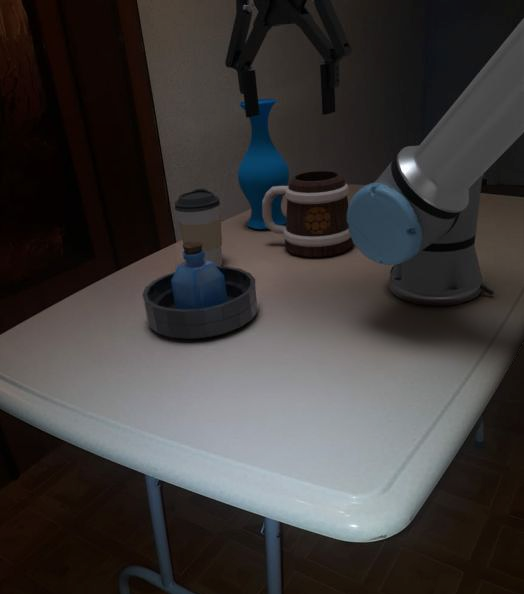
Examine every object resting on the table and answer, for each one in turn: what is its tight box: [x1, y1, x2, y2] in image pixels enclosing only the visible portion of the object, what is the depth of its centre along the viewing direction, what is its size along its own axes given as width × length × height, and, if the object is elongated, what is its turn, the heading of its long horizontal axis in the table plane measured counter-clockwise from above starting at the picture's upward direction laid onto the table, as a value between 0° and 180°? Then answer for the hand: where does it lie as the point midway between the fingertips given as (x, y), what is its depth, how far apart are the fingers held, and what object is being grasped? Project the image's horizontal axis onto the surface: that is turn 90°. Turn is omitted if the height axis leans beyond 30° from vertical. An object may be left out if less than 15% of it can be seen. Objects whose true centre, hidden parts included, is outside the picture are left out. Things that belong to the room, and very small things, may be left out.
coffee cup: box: [174, 188, 223, 266], centre depth 113 cm, size 9×9×15 cm
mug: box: [262, 170, 354, 258], centre depth 117 cm, size 20×15×15 cm
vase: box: [237, 98, 290, 230], centre depth 131 cm, size 12×13×28 cm
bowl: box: [141, 265, 259, 340], centre depth 93 cm, size 19×19×6 cm
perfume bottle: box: [171, 241, 227, 309], centre depth 91 cm, size 6×6×12 cm
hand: (289, 115), depth 85 cm, fingers open, 13 cm apart
